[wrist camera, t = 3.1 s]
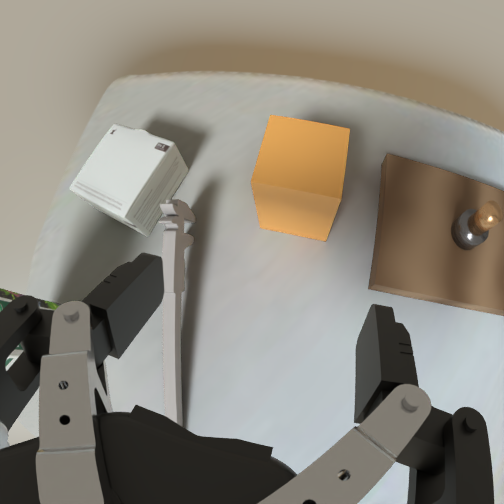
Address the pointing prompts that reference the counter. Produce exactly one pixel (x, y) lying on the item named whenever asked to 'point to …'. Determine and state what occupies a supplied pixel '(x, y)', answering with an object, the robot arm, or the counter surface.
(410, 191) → the board
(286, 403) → the counter surface
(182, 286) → the caliper
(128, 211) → the small box
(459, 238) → the grey and tan knob
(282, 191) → the orange rectangular block
